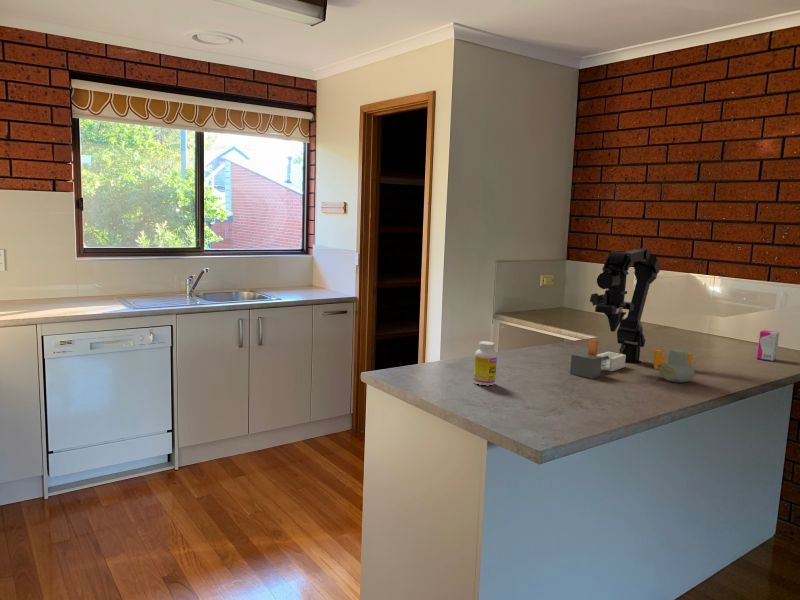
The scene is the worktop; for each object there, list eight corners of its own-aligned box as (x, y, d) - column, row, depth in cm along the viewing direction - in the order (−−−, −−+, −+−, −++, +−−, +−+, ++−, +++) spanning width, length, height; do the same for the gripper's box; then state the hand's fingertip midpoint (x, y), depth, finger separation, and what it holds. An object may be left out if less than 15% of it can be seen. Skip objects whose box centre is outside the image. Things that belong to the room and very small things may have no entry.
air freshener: (653, 377, 213) (657, 348, 212) (672, 375, 216) (675, 347, 215) (679, 385, 203) (683, 355, 202) (698, 384, 206) (701, 354, 205)
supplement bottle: (489, 388, 189) (492, 346, 187) (469, 384, 193) (472, 342, 191) (498, 383, 195) (501, 342, 193) (478, 379, 198) (481, 339, 196)
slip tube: (600, 364, 223) (602, 335, 222) (609, 366, 220) (612, 337, 219) (578, 370, 211) (581, 340, 210) (588, 373, 209) (591, 342, 208)
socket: (578, 371, 216) (579, 352, 215) (600, 376, 210) (601, 356, 210) (569, 373, 212) (571, 354, 211) (592, 378, 206) (593, 359, 205)
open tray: (607, 363, 231) (608, 351, 230) (624, 366, 226) (625, 354, 226) (594, 367, 223) (595, 355, 222) (611, 371, 219) (613, 358, 218)
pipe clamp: (655, 369, 226) (656, 351, 225) (653, 366, 230) (654, 349, 229) (691, 372, 223) (693, 354, 222) (688, 370, 227) (690, 352, 226)
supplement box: (776, 360, 252) (780, 331, 250) (772, 362, 247) (776, 333, 246) (760, 357, 256) (763, 329, 254) (756, 359, 251) (759, 331, 250)
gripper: (606, 284, 233) (603, 325, 235) (583, 286, 219) (579, 330, 221) (636, 287, 225) (632, 330, 227) (613, 290, 212) (609, 335, 214)
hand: (612, 331), depth 223 cm, fingers closed
